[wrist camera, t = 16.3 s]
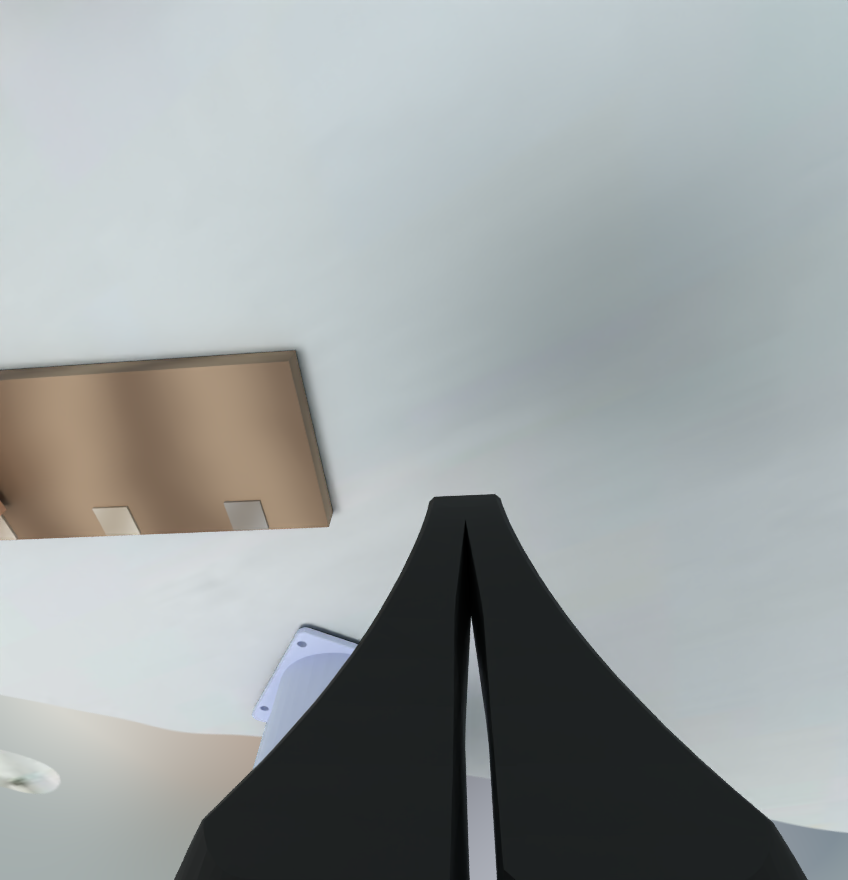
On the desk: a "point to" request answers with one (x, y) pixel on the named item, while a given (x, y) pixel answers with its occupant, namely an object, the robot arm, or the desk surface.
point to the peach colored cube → (2, 508)
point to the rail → (159, 448)
